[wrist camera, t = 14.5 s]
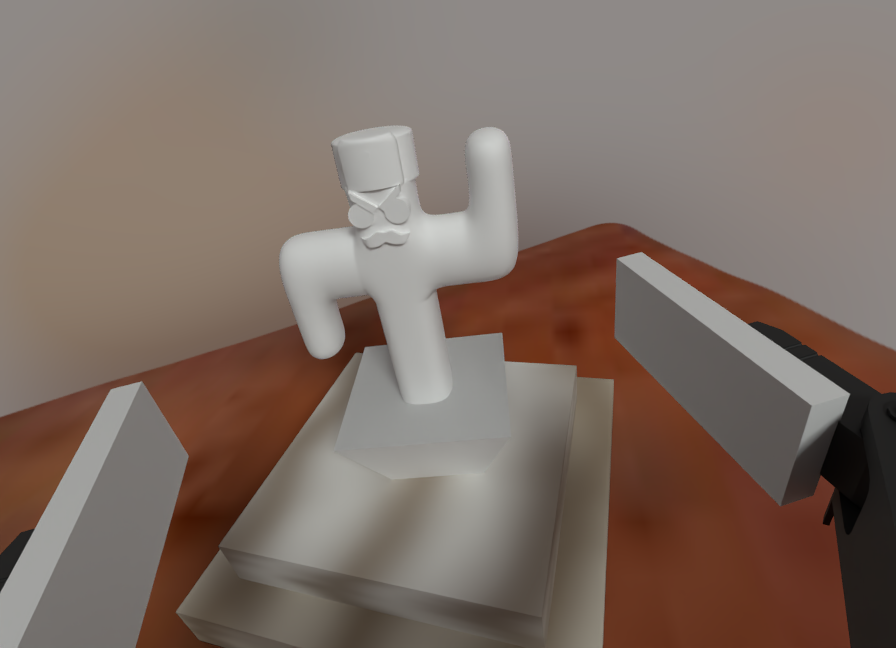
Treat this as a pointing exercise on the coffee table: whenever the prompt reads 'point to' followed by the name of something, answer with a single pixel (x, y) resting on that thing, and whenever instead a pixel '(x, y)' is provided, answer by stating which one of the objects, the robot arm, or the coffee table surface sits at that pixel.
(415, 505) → the plinth
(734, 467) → the coffee table surface
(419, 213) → the figurine
